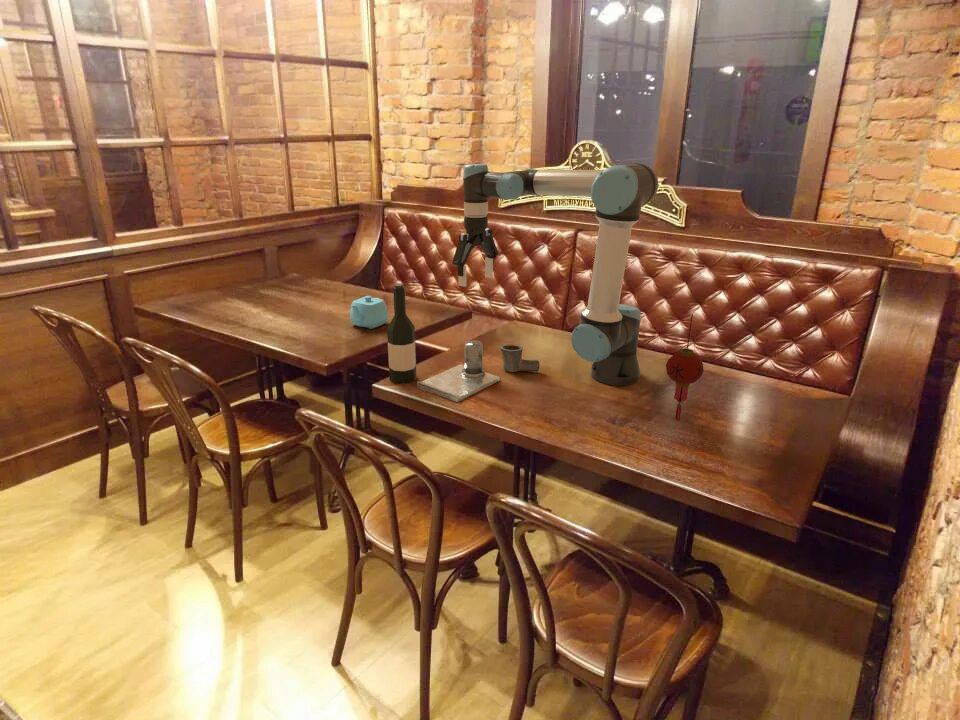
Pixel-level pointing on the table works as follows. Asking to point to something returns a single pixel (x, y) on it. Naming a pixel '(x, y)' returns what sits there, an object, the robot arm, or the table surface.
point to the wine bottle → (401, 341)
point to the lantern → (684, 373)
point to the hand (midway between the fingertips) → (476, 281)
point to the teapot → (368, 312)
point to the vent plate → (461, 376)
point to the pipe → (516, 359)
